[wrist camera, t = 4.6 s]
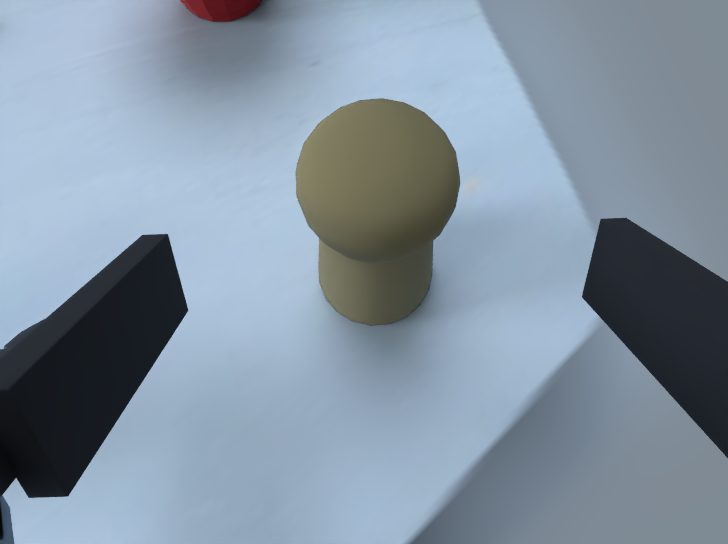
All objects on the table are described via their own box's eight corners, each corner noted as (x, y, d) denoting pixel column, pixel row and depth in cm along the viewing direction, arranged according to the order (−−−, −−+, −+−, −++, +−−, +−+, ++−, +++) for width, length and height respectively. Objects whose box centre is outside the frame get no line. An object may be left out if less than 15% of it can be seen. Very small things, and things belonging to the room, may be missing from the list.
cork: (430, 330, 21) (486, 260, 11) (311, 320, 22) (256, 244, 11) (434, 220, 23) (485, 69, 13) (324, 213, 23) (286, 59, 13)
